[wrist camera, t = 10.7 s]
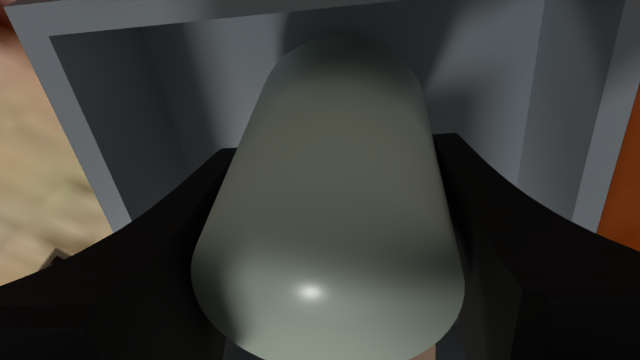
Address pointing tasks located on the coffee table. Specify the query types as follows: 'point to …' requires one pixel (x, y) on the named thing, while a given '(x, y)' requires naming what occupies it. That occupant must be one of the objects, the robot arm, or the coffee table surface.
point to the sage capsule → (333, 215)
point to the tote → (329, 20)
